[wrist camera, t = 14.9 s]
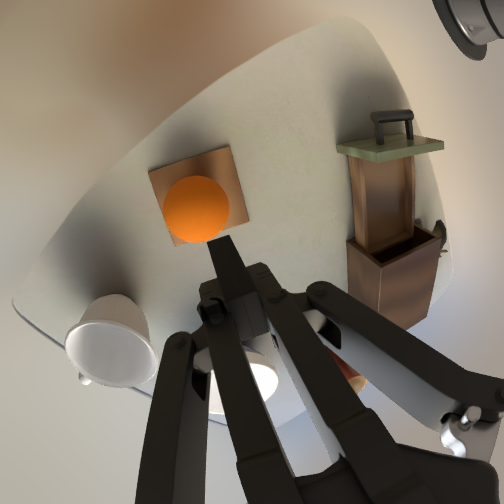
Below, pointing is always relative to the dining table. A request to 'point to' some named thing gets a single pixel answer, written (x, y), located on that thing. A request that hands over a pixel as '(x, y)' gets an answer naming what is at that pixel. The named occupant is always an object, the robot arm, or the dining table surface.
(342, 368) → the mug
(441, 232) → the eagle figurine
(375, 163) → the drawer
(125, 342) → the teacup
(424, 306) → the cabinet
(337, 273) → the dining table surface
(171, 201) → the orange
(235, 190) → the coaster
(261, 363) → the bowl
